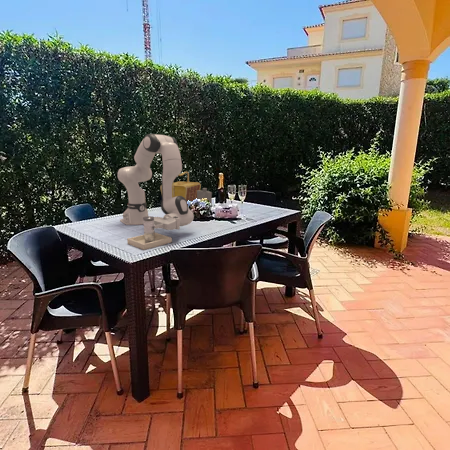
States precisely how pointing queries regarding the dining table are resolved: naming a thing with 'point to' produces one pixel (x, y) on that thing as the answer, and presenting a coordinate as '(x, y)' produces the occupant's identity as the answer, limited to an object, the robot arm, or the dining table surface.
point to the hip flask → (204, 194)
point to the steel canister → (149, 229)
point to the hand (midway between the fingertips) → (149, 225)
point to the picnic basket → (185, 189)
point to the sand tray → (159, 241)
